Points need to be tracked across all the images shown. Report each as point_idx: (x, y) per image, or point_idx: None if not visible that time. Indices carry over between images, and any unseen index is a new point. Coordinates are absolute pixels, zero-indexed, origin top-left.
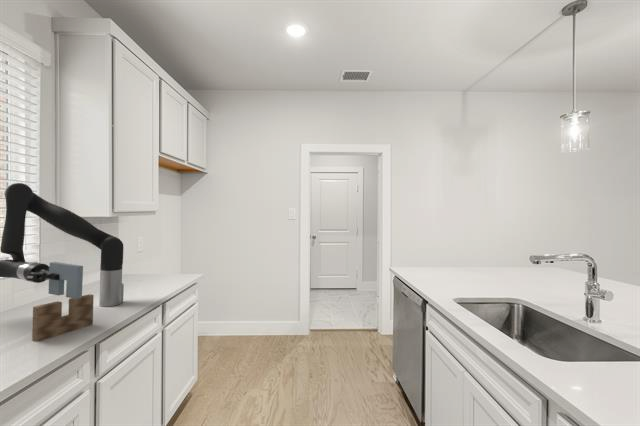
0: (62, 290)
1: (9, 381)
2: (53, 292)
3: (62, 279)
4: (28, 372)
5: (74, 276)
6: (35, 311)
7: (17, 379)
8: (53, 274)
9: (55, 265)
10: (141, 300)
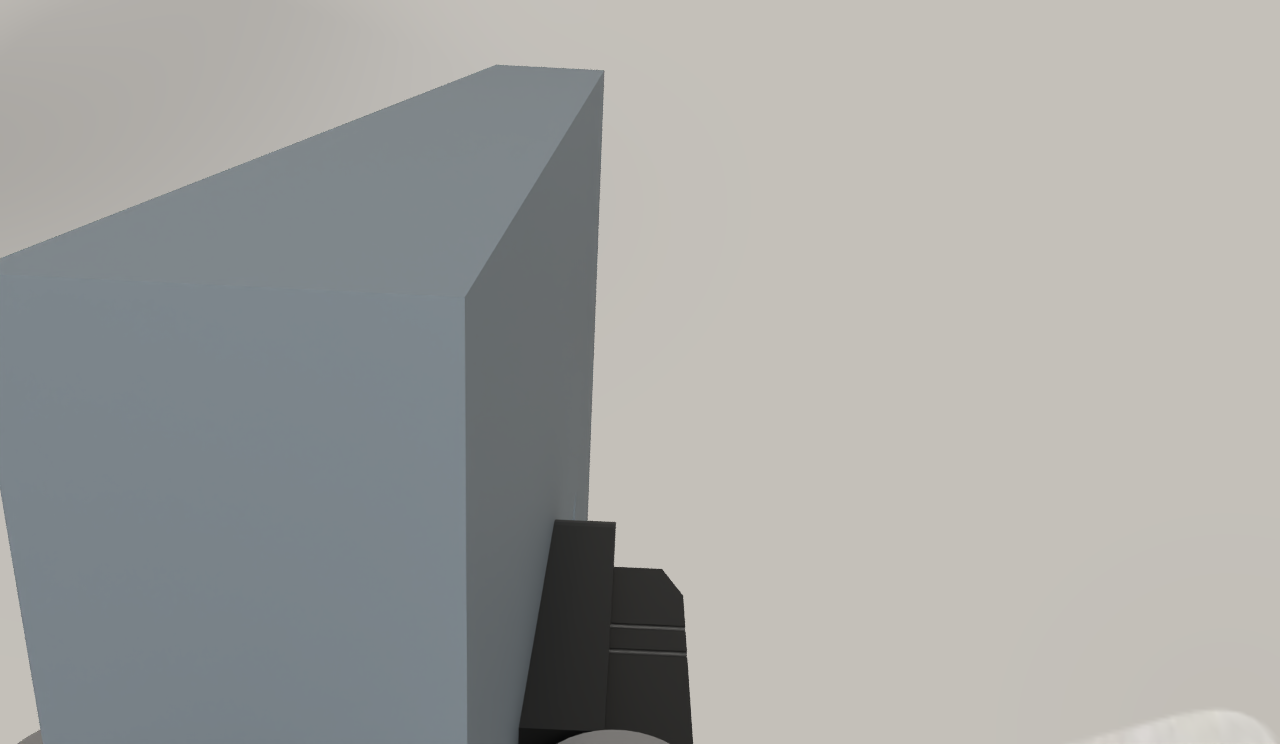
0: None
1: (1256, 728)
2: None
3: None
4: (1149, 740)
5: (592, 291)
6: None
7: (1213, 716)
8: (604, 657)
9: (537, 275)
10: None
